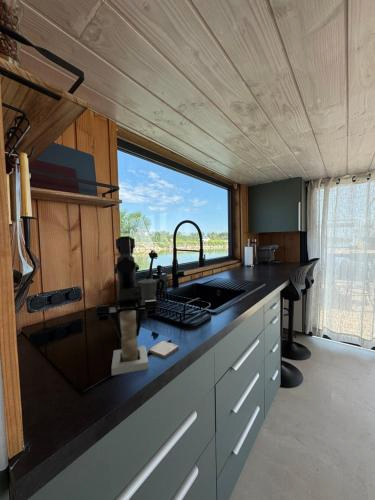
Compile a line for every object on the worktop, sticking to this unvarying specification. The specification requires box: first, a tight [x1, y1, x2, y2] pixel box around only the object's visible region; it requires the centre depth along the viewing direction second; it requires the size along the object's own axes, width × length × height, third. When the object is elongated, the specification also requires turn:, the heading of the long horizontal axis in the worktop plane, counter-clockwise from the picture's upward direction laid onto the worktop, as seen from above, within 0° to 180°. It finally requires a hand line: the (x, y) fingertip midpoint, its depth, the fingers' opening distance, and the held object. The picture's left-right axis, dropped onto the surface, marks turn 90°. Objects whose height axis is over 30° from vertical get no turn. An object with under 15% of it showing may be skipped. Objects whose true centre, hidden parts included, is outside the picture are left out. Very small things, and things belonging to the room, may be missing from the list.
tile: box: [148, 340, 179, 359], centre depth 74 cm, size 7×7×1 cm
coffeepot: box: [135, 275, 166, 305], centre depth 113 cm, size 15×9×18 cm, turn 112°
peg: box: [119, 310, 139, 363], centre depth 67 cm, size 5×5×16 cm
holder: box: [110, 345, 149, 376], centre depth 67 cm, size 10×10×2 cm
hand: (128, 336), depth 65 cm, fingers closed on peg, 5 cm apart
